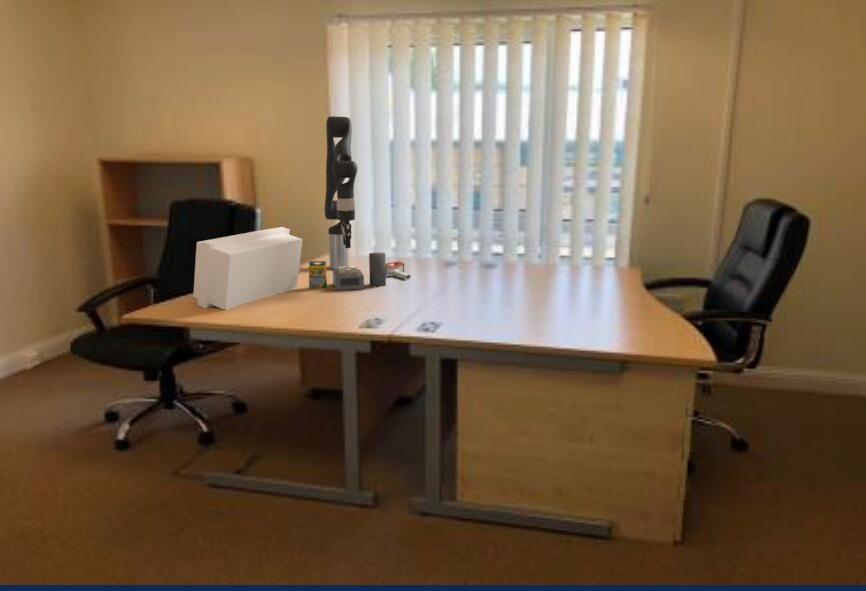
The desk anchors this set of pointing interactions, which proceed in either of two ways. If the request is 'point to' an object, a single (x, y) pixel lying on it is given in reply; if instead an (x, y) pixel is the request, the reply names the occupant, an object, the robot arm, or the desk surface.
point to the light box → (246, 267)
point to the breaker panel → (348, 280)
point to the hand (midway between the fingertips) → (346, 246)
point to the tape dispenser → (397, 270)
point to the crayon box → (317, 274)
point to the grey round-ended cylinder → (377, 269)
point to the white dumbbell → (352, 269)
